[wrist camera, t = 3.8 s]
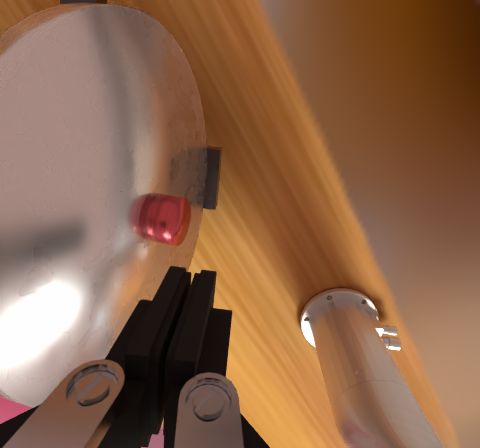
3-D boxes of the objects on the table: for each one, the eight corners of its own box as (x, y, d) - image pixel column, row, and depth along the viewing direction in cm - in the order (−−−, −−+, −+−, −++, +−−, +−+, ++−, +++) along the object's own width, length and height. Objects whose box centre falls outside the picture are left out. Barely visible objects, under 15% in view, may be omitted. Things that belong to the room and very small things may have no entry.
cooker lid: (197, 55, 24) (238, 59, 23) (187, 271, 32) (217, 278, 31) (-270, -205, 4) (-97, -218, 4) (0, 511, 12) (70, 541, 12)
